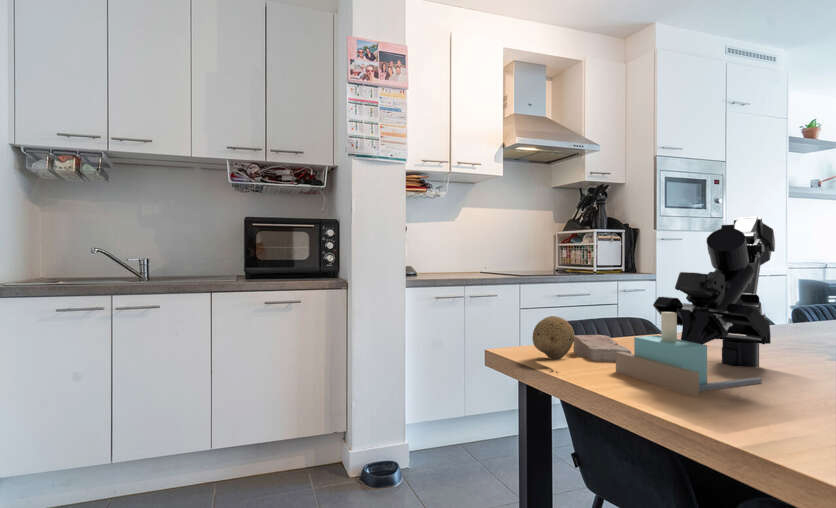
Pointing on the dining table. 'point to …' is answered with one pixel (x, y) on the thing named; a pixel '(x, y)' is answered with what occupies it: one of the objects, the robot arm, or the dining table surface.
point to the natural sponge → (553, 337)
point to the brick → (597, 347)
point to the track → (670, 375)
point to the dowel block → (673, 348)
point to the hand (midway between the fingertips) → (682, 350)
